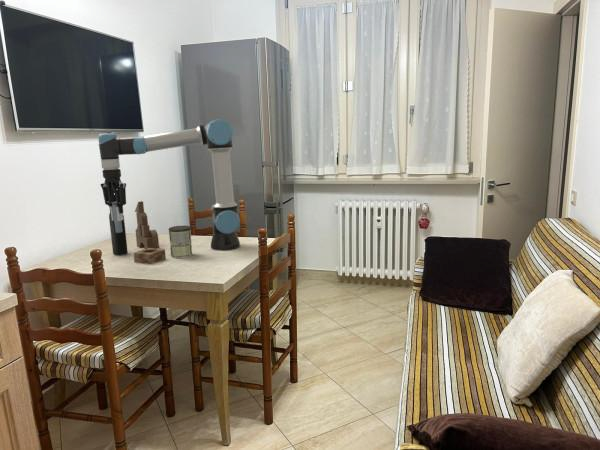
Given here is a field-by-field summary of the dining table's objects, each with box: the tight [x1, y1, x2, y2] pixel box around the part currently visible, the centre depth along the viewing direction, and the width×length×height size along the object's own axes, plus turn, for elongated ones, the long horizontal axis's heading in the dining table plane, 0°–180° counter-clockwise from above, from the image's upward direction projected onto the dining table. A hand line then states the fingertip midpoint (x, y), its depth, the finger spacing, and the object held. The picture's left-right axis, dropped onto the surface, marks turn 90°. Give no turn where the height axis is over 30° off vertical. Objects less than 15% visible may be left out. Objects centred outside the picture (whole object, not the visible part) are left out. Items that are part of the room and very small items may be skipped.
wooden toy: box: [134, 200, 160, 249], centre depth 230 cm, size 16×7×25 cm, turn 44°
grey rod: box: [111, 202, 123, 233], centre depth 198 cm, size 3×3×14 cm
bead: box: [133, 248, 167, 265], centre depth 205 cm, size 10×10×4 cm
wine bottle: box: [108, 194, 129, 256], centre depth 216 cm, size 6×6×30 cm
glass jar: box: [168, 225, 193, 259], centre depth 211 cm, size 10×10×14 cm
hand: (117, 220), depth 198 cm, fingers closed on grey rod, 3 cm apart
